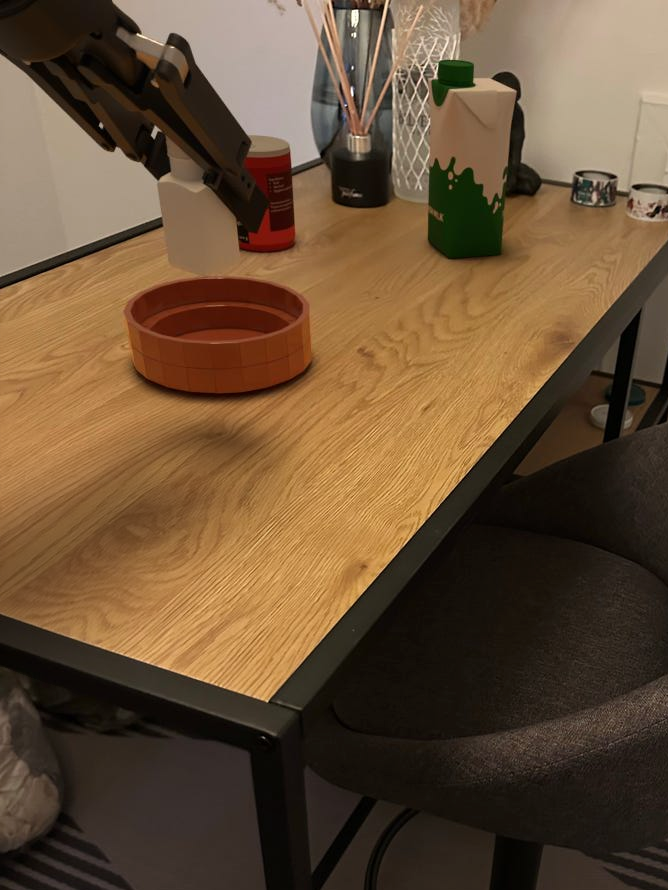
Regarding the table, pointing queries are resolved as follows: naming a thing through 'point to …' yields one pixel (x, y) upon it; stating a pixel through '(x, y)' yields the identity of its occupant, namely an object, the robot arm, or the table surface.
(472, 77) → the milk carton
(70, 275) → the table surface
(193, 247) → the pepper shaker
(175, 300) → the bowl
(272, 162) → the canned food
